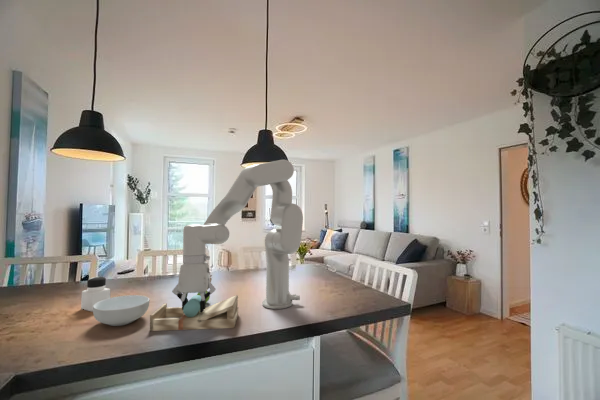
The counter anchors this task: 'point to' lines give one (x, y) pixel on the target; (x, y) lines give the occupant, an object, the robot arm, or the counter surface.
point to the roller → (192, 306)
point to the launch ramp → (196, 317)
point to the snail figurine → (206, 291)
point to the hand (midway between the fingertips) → (194, 310)
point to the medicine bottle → (94, 293)
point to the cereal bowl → (120, 309)
